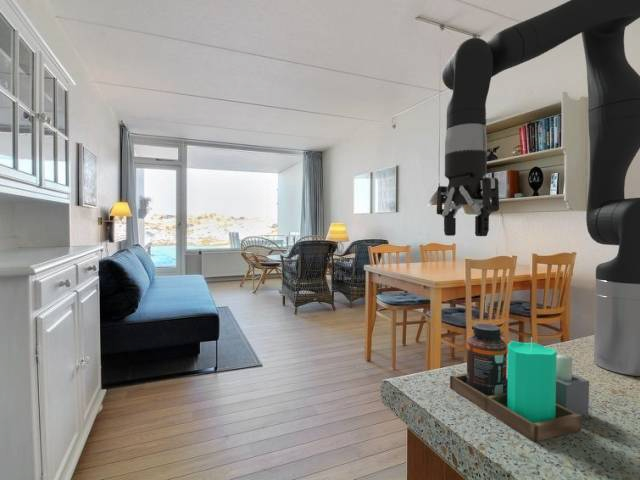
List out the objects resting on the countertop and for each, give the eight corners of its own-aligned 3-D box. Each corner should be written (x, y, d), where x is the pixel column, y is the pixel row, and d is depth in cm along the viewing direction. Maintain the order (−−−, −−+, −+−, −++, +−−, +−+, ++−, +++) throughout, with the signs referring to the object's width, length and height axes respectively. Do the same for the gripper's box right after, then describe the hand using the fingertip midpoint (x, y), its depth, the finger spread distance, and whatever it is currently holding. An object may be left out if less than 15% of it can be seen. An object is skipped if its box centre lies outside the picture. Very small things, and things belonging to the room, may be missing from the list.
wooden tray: (488, 380, 63) (488, 369, 62) (580, 429, 47) (581, 415, 47) (449, 387, 60) (450, 376, 60) (534, 442, 45) (534, 426, 44)
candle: (563, 433, 46) (565, 345, 46) (515, 429, 47) (516, 342, 47) (543, 410, 52) (544, 331, 52) (500, 407, 53) (501, 329, 53)
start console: (558, 399, 56) (558, 368, 55) (588, 414, 51) (589, 380, 51) (536, 404, 54) (537, 372, 54) (565, 419, 50) (566, 385, 50)
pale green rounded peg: (560, 391, 54) (561, 353, 54) (575, 398, 52) (576, 358, 52) (549, 393, 53) (550, 355, 53) (564, 400, 51) (564, 360, 51)
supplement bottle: (511, 404, 54) (512, 332, 54) (471, 400, 55) (471, 330, 55) (499, 387, 60) (500, 322, 60) (463, 384, 61) (463, 320, 61)
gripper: (511, 145, 62) (510, 236, 62) (456, 160, 75) (455, 235, 76) (477, 142, 59) (476, 236, 60) (426, 158, 73) (426, 235, 73)
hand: (464, 235), depth 68 cm, fingers open, 8 cm apart
